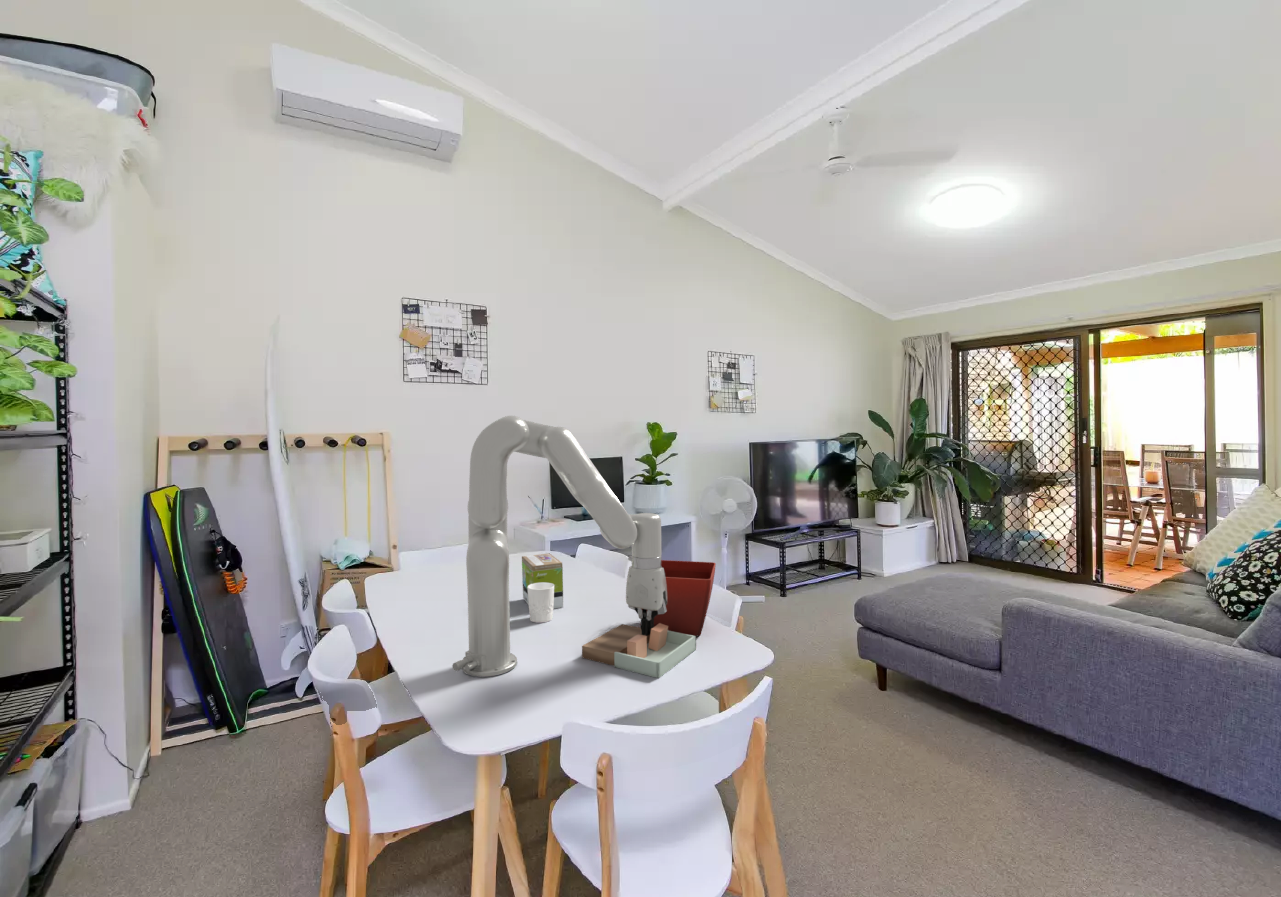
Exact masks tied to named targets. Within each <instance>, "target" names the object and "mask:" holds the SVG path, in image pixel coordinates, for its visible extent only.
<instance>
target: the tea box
mask: <svg viewBox="0 0 1281 897" xmlns="http://www.w3.org/2000/svg"><path fill="white" fill-rule="evenodd" d="M521 570H522V571H521V573H522V574H521V576H522V582H521V583H522V598H523V600H524V601H525V602H526V604H527V605H528V606H529V603H528V590H527V586H528V585H530V584H533V583H541V582H546V583H552V584H554V606H553V610H556V609H559V608H560V609H561V608H564V576H563V571H564V570H563V561H561V560H559V559H558V558H557V557H555V556H554V555H552V554H551V553H547V552H546V553H539V554H532V555H522V556H521Z"/></svg>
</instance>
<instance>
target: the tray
mask: <svg viewBox="0 0 1281 897" xmlns="http://www.w3.org/2000/svg"><path fill="white" fill-rule="evenodd" d="M648 647H649V643H648V644H647V657H645V658H641V657H636V656H632V655H628V654H624V653H619V652H614V662H615V666H614V668H616V669H620V670H625V671H628V672H631V673H636V674H641V675H645V676H648V677H652V678H656V679H660V678H661V677H663V676H664V675H665V674H666V673H668V672H669V671H671V670H672V669H673V668H675V666H677V665H678V664H680V663H681V662H682V661H684V660H685V659H687V657H688V656H690V655H691V654H693V653H694V652H695V651H697V636H693V635H688V634H683V633H678V632H673V631H667V638H666V645H664V646H663V647H662V648H661V649H659V650H658V651H655V650H652V649H649V648H648Z"/></svg>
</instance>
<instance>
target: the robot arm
mask: <svg viewBox="0 0 1281 897" xmlns="http://www.w3.org/2000/svg"><path fill="white" fill-rule="evenodd" d="M513 453H520V454H523V455H528V456H533V457H536V458H537V457H538V458H543V459H547V461H548V462H549V464H550V465H551V466H552V468H553V469H554V471H555V472H556V474H557V475H558V477H559V478H560V480H561V481H562V483H563V484H564V485H565V487H566V488H567V490H568V491H569V493H570V494H571V495H572V497H573V498H574V499H575V501H577V502H578V503H579V504H580V505H581V506H583V508H584V509H585V510H586V511H587V512H588V514H589V515H590V516H591V518H592V519H593V520H594V522H595V523H596V524H597V525H598V526H597V527H599V532H600V534H601V536H602V538H604V539H605V541H606V542H608V543H609V544H610V545H611V546H612V547H613V548H616V549H619V550H626V549H628V548H630V547H631V555H628V559H627V560H628V561H629V562H631V566H629V567H628V571H627V578H626V583H625V584H626V585H625V586H626V587H625V603H626V604H627V607H628V608H629V609H631V610H633V611H635V612H636V614H637V615H638V618H639V619H640V628H641V630H642V635H646V636H648V635H650V633H651V629H652V628H653V627H654V618H655V617H656V616H657V615H658V614H664V613H666V612H667V610H666V605H667V585H666V577H665V572H664V568H662V564H661V560H662V518H661V516H660V515H659V514H657V513H652V512H641V513H636V514H634V513H633V514H632V513H631V514H630V513H628V511H627V510H626V509H625V507H624V505H623V504H622V503H621V501H620V500H619V499H618V497H617V496H616V495H615V493H614V492H613V490H612V489H611V488H610V486H609V485H608V483H607V482H606V480H605V479H604V478H603V476H602V475H601V473H600V472H599V470H598V469H597V467H596V466H595V465H594V463H593V462H592V460H591V459H590V458H589V456H588V455H587V453H586V452H585V450H584V448H583V447H582V446H581V444H580V442H579V441H578V439H577V438H576V437H575V435H573V433H572V432H571V431H570V430H569V429H567V428H566V427H563V426H551V425H547V424H541V423H538V422H533V421H529V420H526V419H522V418H521V417H520V416H516V415H506V416H503V417H501V418H498V419H497V420H495V421H493V422H491V423H490V424H489V425H487V426H486V427H485V428H483V429H482V431H481V432H480V433H479V434H478V435H477V438H476V439H475V440H474V443H473V446H472V448H471V452H470V459H469V460H470V461H469V478H468V479H469V482H468V483H469V484H468V485H469V486H468V501H467V515H468V546H467V550H466V557H465V558H466V560H465V564H466V583H467V585H466V586H467V615H468V616H467V618H468V619H467V620H468V621H467V622H468V623H467V625H468V627H467V628H468V650H467V651H465V653H464V654H465V656H464V657H462V659H460V660H457V661H454V662H453V663H452V665H451V666H452V669H453V671H454V672H459V671H461V670H462V672H464V673H465V674H466V675H469V676H472V677H481V678H486V677H494V676H499V675H502V674H505V673H508V672H510V671H512V670H513V669H514V668H515V667H516V666H517V664H518V657H517V656H516V655H515V654H513V653H511V627H510V626H511V624H510V623H511V622H510V619H511V618H510V617H511V616H510V614H511V613H510V611H511V610H510V550H509V549H510V548H509V545H508V512H509V511H508V510H509V501H508V495H507V476H508V461H509V459H510V456H511V455H512V454H513Z"/></svg>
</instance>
